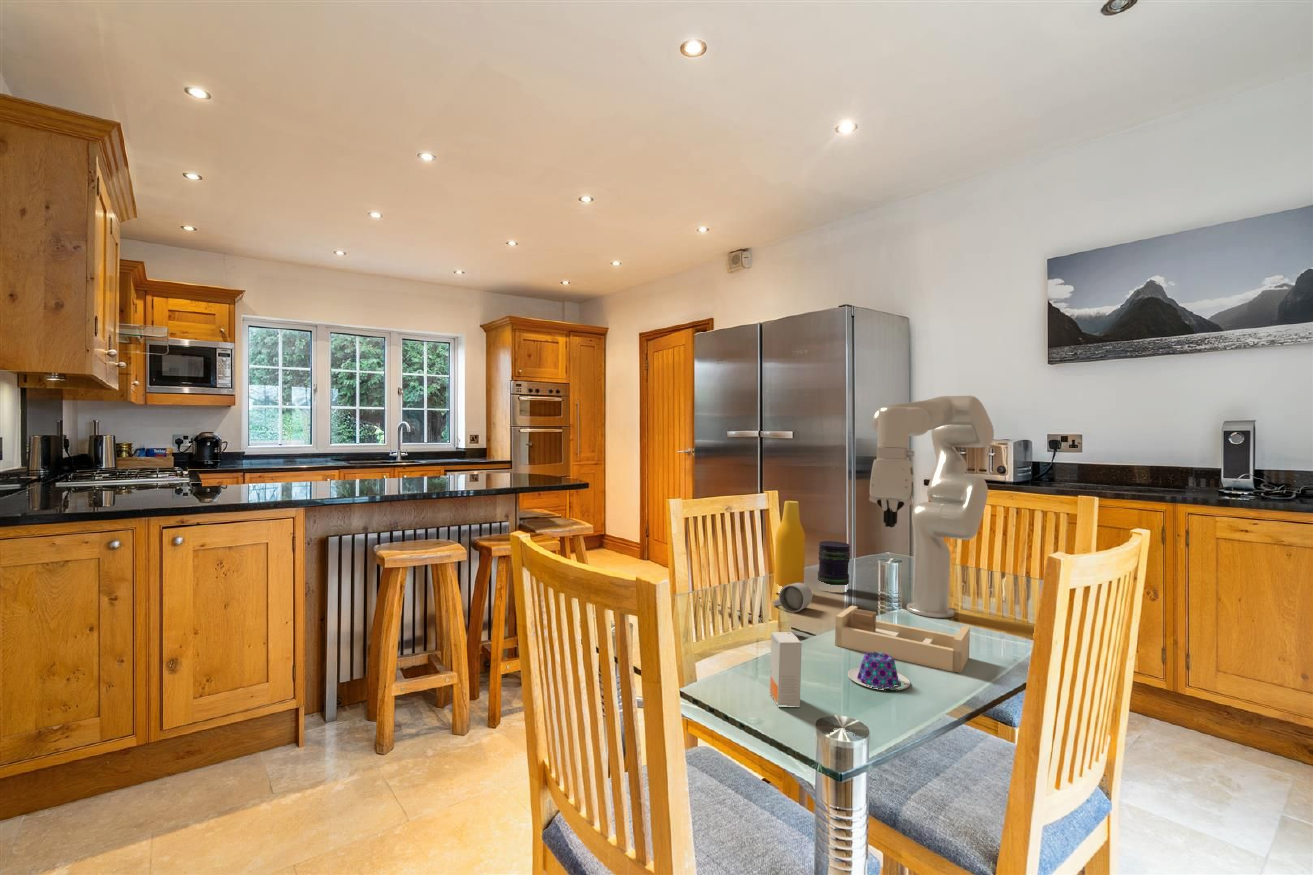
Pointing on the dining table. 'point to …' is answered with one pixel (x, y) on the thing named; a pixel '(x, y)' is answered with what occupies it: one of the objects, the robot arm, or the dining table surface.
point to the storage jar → (833, 562)
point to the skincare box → (785, 668)
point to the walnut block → (864, 620)
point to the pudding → (877, 671)
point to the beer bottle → (790, 547)
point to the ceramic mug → (794, 597)
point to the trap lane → (906, 642)
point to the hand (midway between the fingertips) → (890, 526)
